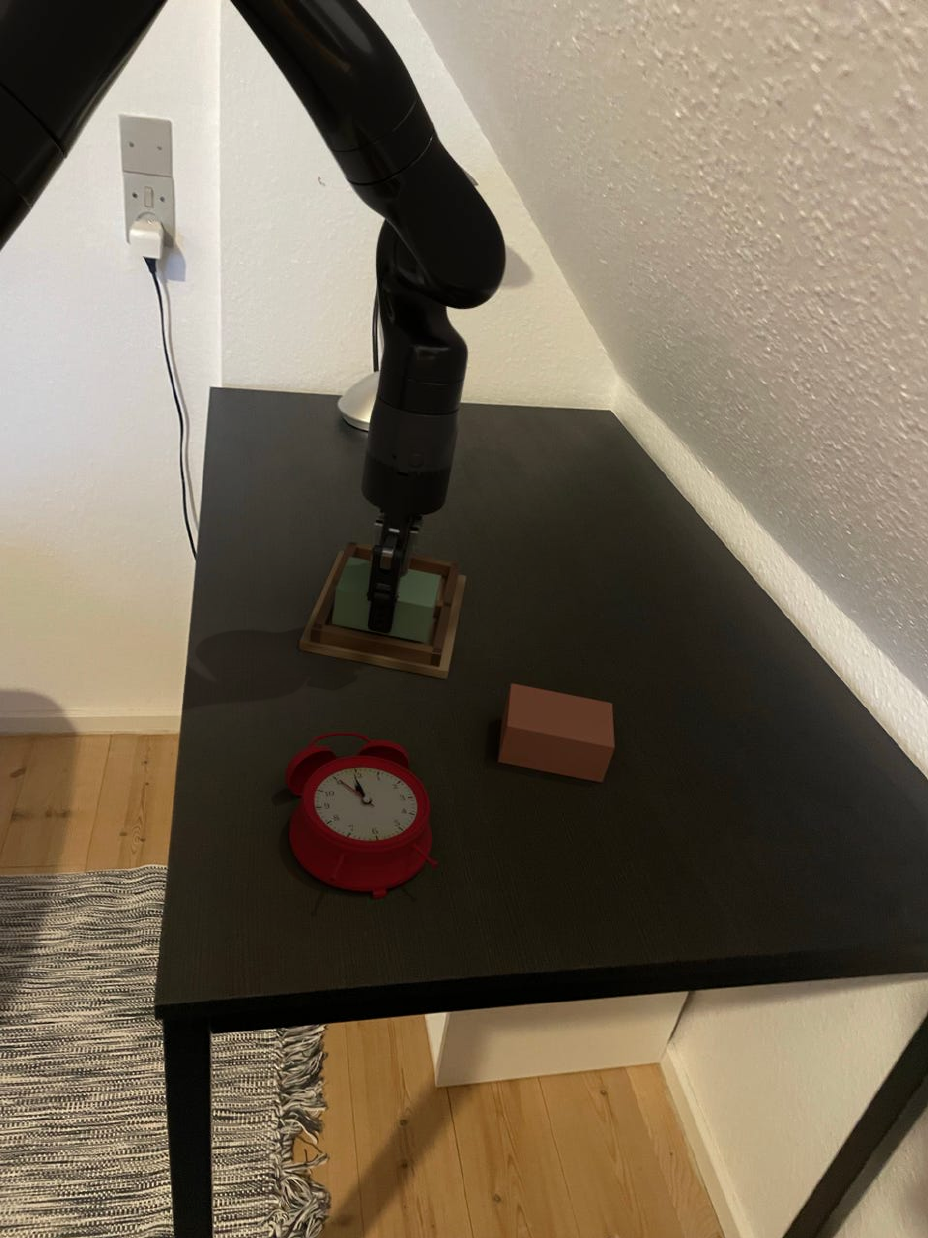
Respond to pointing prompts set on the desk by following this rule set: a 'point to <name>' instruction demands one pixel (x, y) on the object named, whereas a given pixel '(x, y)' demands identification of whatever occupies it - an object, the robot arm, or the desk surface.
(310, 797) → the alarm clock
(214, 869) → the desk surface
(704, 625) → the desk surface
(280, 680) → the desk surface
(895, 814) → the desk surface
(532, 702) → the pad terracotta
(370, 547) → the divided wooden tray
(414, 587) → the pad sage
